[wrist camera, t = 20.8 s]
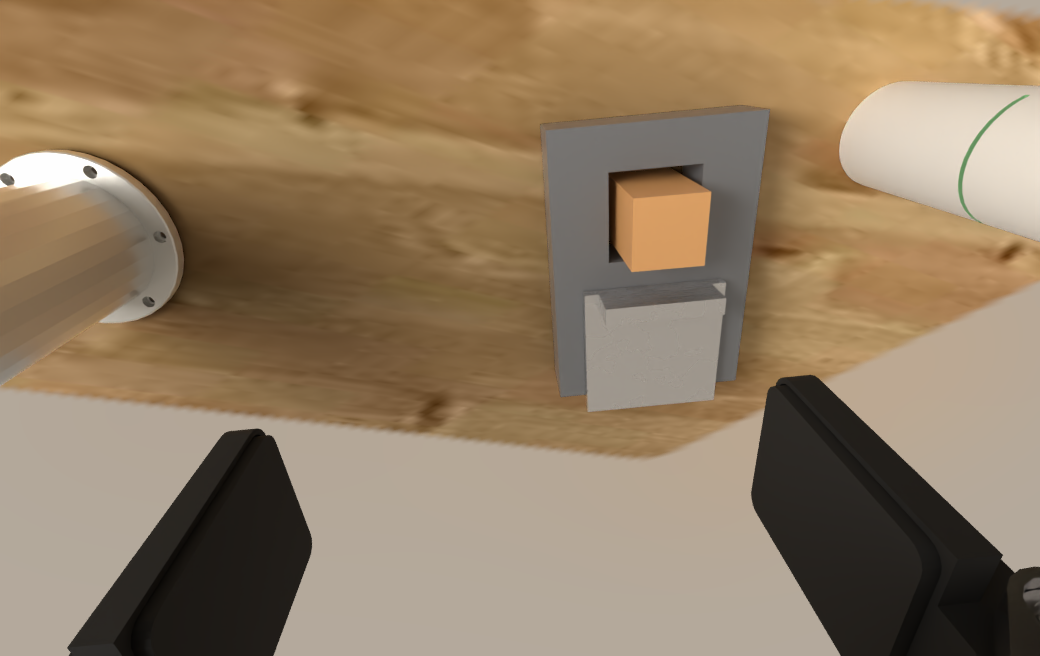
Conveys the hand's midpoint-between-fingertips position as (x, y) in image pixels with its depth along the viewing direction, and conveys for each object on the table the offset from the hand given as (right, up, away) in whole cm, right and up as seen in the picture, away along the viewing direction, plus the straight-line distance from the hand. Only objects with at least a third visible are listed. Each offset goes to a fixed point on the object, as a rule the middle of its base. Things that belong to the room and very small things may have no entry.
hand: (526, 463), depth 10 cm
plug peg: (+9, +12, +28) cm, 32 cm away
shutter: (+10, +1, +29) cm, 31 cm away
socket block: (+9, +8, +30) cm, 33 cm away
